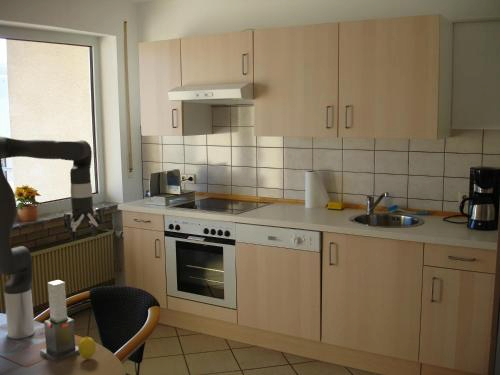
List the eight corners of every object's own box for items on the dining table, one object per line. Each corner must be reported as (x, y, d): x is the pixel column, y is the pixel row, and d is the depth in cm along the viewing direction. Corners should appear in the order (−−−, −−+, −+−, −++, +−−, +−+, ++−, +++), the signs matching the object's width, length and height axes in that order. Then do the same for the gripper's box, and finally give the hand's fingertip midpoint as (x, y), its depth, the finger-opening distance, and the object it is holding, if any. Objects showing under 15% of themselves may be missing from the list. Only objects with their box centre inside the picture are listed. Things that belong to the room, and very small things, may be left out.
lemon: (91, 363, 179) (90, 340, 178) (76, 362, 181) (74, 339, 179) (99, 356, 185) (97, 333, 184) (84, 355, 186) (82, 332, 185)
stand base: (40, 354, 187) (37, 321, 185) (66, 344, 194) (64, 312, 193) (55, 362, 180) (52, 328, 179) (82, 352, 188) (79, 319, 186)
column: (51, 335, 186) (47, 282, 183) (62, 331, 189) (58, 279, 187) (57, 338, 183) (53, 285, 181) (68, 334, 187) (65, 282, 184)
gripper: (92, 192, 206) (95, 233, 208) (58, 196, 196) (61, 240, 198) (104, 193, 201) (106, 236, 203) (69, 198, 191) (72, 243, 193)
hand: (84, 238), depth 201 cm, fingers open, 8 cm apart
